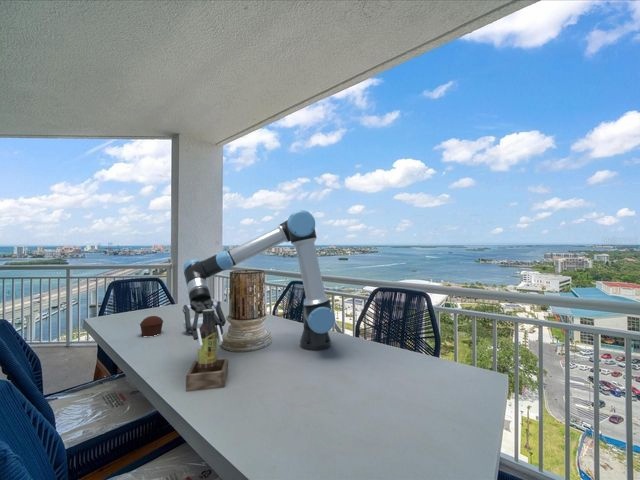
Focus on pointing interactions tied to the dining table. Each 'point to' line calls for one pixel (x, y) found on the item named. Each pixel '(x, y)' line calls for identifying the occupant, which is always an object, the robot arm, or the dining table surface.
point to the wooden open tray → (207, 376)
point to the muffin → (151, 326)
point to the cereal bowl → (193, 321)
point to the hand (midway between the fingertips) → (211, 344)
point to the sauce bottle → (208, 341)
